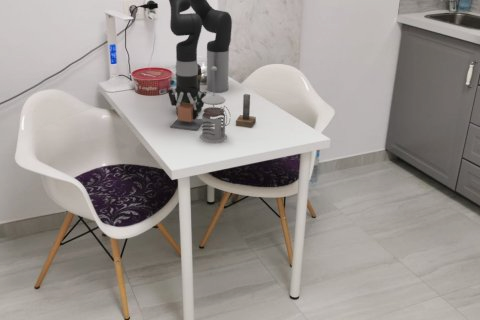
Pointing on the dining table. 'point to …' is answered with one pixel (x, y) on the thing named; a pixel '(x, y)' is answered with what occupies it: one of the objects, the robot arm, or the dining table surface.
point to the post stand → (246, 114)
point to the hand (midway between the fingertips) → (187, 117)
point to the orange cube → (185, 112)
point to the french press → (219, 132)
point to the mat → (187, 124)
